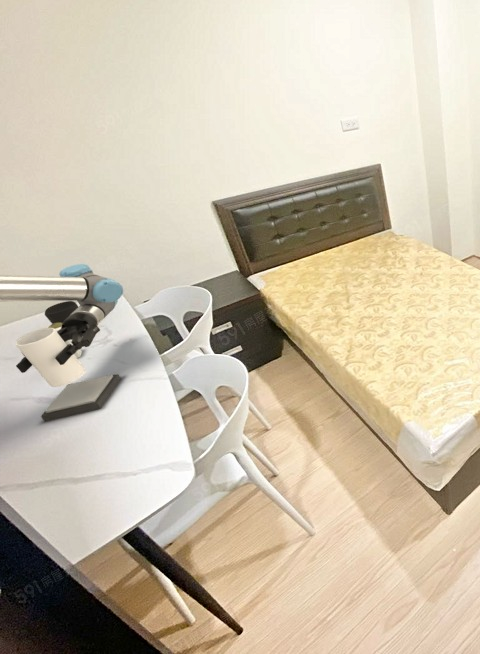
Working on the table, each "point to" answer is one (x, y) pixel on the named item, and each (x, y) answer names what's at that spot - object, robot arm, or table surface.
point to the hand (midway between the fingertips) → (40, 365)
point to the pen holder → (60, 311)
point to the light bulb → (55, 325)
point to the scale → (82, 397)
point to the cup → (49, 357)
